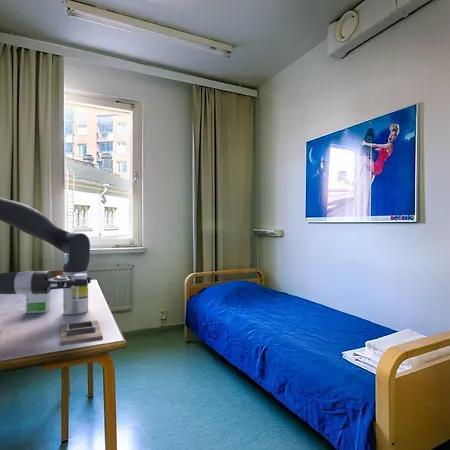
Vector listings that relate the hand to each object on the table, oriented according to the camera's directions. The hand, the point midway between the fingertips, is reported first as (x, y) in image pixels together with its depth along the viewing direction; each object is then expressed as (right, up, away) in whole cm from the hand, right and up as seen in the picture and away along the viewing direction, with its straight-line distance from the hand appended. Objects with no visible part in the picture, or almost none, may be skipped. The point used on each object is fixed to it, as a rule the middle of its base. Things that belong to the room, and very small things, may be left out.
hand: (88, 281), depth 112 cm
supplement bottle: (-3, -6, -1) cm, 7 cm away
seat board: (-2, -17, -1) cm, 17 cm away
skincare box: (-33, -18, +29) cm, 48 cm away
